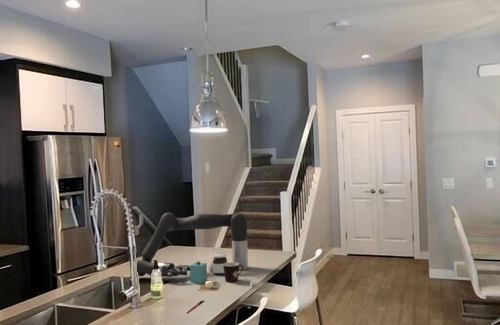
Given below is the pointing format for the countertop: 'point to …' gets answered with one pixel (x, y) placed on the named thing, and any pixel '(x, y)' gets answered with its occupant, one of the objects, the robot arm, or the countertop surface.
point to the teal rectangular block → (198, 272)
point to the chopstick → (196, 306)
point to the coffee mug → (231, 271)
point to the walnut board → (203, 288)
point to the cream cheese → (209, 284)
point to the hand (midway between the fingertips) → (190, 271)
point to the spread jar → (218, 264)
